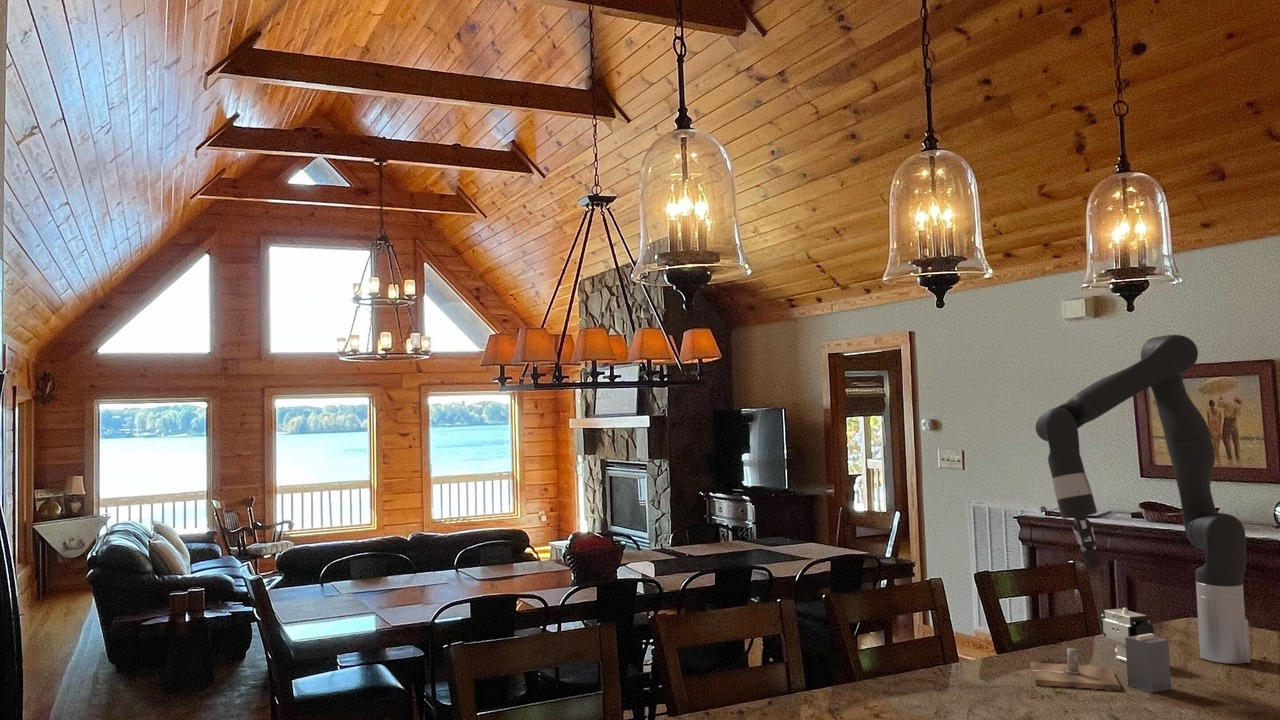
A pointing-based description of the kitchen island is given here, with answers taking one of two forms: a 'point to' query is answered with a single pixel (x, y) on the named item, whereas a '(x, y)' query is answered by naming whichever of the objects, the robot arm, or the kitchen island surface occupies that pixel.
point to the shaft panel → (1074, 674)
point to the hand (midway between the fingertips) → (1093, 567)
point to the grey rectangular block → (1148, 662)
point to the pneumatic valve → (1123, 627)
